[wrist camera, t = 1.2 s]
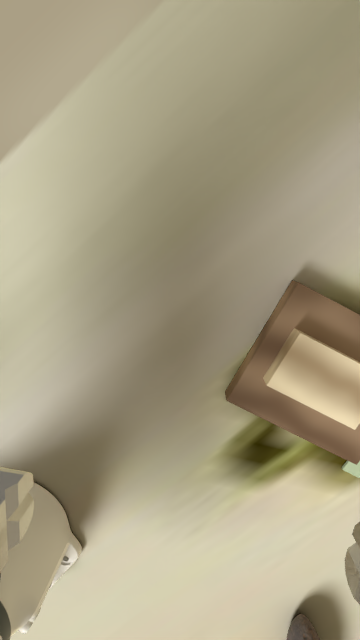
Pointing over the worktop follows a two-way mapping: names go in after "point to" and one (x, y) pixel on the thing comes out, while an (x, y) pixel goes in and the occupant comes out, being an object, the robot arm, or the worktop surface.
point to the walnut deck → (248, 384)
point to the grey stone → (301, 629)
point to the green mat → (352, 468)
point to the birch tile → (317, 378)
